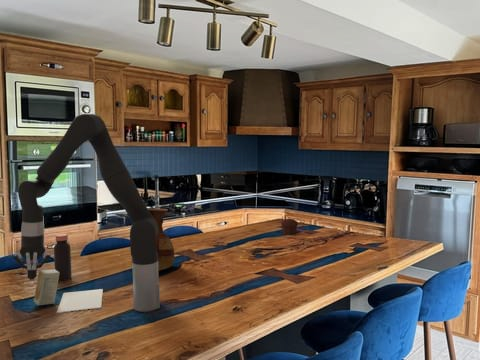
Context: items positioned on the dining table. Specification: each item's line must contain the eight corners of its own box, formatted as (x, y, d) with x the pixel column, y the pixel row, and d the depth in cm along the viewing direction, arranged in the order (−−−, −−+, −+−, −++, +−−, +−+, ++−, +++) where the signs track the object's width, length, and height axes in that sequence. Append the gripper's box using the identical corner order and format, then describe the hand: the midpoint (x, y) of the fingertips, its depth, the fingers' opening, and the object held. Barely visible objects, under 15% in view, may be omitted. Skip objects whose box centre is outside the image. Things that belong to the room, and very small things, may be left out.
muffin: (280, 235, 270) (280, 220, 269) (281, 231, 281) (281, 217, 280) (298, 235, 268) (298, 220, 267) (298, 232, 279) (298, 217, 278)
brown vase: (182, 269, 197) (181, 207, 195) (147, 279, 183) (145, 212, 180) (158, 261, 211) (157, 203, 208) (123, 270, 196) (122, 208, 194)
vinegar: (68, 275, 189) (66, 232, 187) (74, 278, 184) (72, 235, 182) (52, 278, 184) (50, 235, 182) (58, 282, 179) (56, 237, 177)
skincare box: (49, 299, 158) (55, 268, 158) (54, 303, 155) (60, 272, 155) (32, 301, 153) (38, 269, 153) (37, 305, 150) (43, 273, 150)
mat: (102, 289, 169) (102, 288, 169) (101, 308, 150) (101, 307, 150) (63, 293, 165) (63, 292, 165) (56, 313, 146) (56, 312, 146)
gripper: (10, 235, 145) (9, 283, 147) (50, 235, 149) (50, 281, 151) (15, 231, 152) (14, 276, 154) (53, 230, 156) (52, 275, 158)
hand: (32, 279), depth 152 cm, fingers closed
